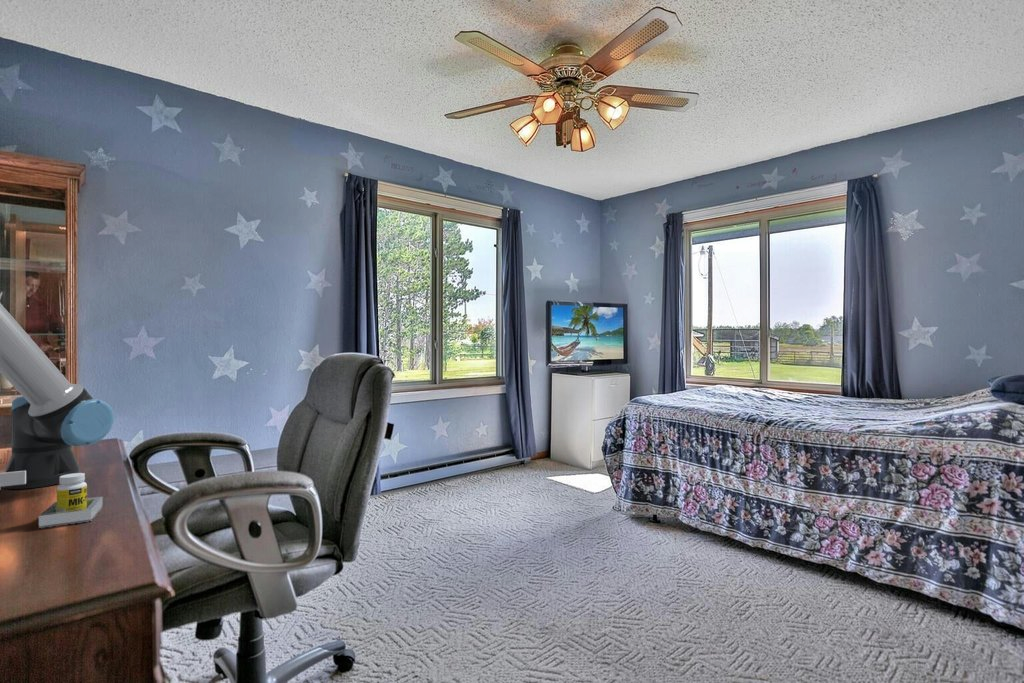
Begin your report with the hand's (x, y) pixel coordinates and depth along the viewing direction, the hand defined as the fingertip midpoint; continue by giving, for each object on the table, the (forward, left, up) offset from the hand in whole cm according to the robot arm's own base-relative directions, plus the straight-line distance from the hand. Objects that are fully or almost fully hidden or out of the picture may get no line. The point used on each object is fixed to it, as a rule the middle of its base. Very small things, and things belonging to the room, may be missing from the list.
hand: (13, 485), depth 100 cm
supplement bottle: (0, +9, -8) cm, 12 cm away
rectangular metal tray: (0, +9, -8) cm, 12 cm away
